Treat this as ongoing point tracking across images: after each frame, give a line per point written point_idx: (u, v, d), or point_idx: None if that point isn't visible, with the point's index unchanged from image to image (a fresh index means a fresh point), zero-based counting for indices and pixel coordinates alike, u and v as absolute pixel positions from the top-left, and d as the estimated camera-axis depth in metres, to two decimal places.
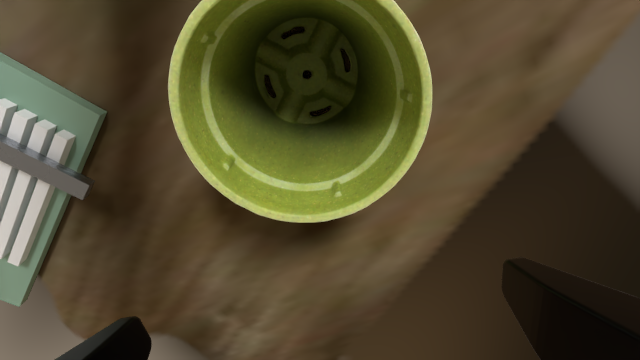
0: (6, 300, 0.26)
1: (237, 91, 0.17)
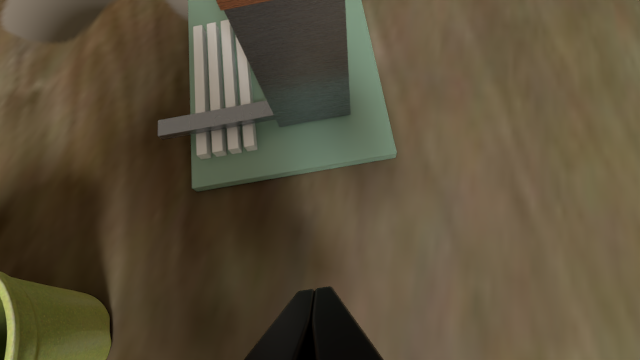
0: None
1: None
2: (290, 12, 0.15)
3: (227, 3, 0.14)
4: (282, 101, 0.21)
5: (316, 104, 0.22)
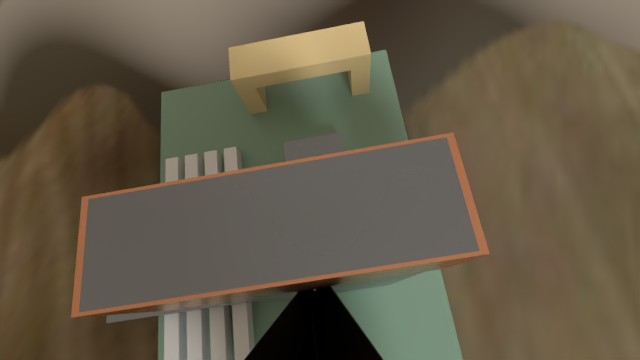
0: (178, 90, 0.22)
1: None
2: None
3: (181, 308, 0.06)
4: (291, 298, 0.14)
5: None
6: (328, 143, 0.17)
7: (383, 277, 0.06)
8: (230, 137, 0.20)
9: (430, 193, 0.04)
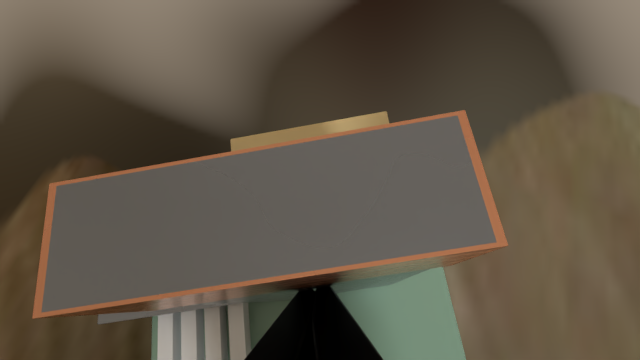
0: None
1: None
2: (312, 285, 0.07)
3: (165, 308, 0.06)
4: (289, 298, 0.13)
5: (343, 291, 0.14)
6: None
7: (385, 274, 0.06)
8: None
9: (439, 177, 0.04)
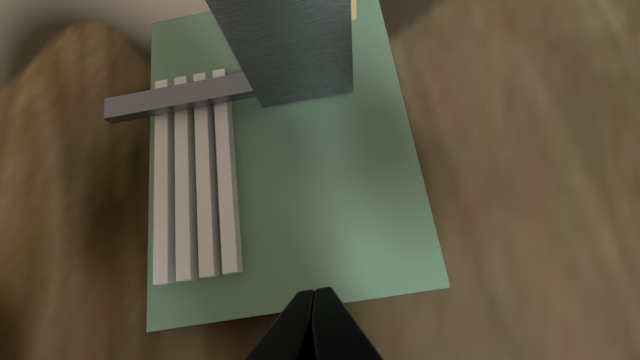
0: (168, 21, 0.22)
1: None
2: None
3: None
4: (262, 70, 0.16)
5: (309, 76, 0.17)
6: None
7: None
8: (219, 63, 0.20)
9: None
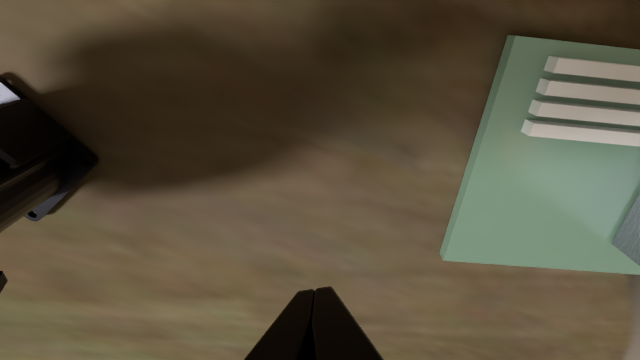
0: None
1: None
2: None
3: None
4: None
5: None
6: None
7: None
8: None
9: None
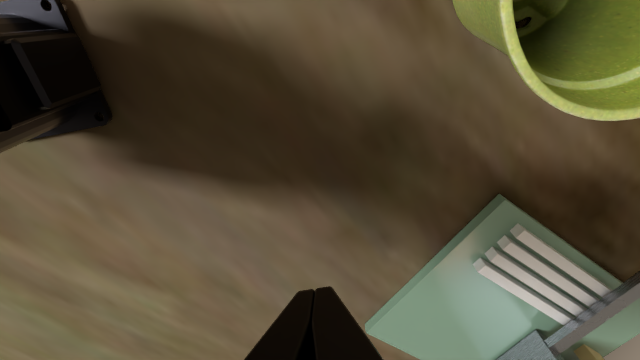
0: None
1: (541, 57, 0.15)
2: None
3: None
4: None
5: None
6: None
7: None
8: None
9: None
